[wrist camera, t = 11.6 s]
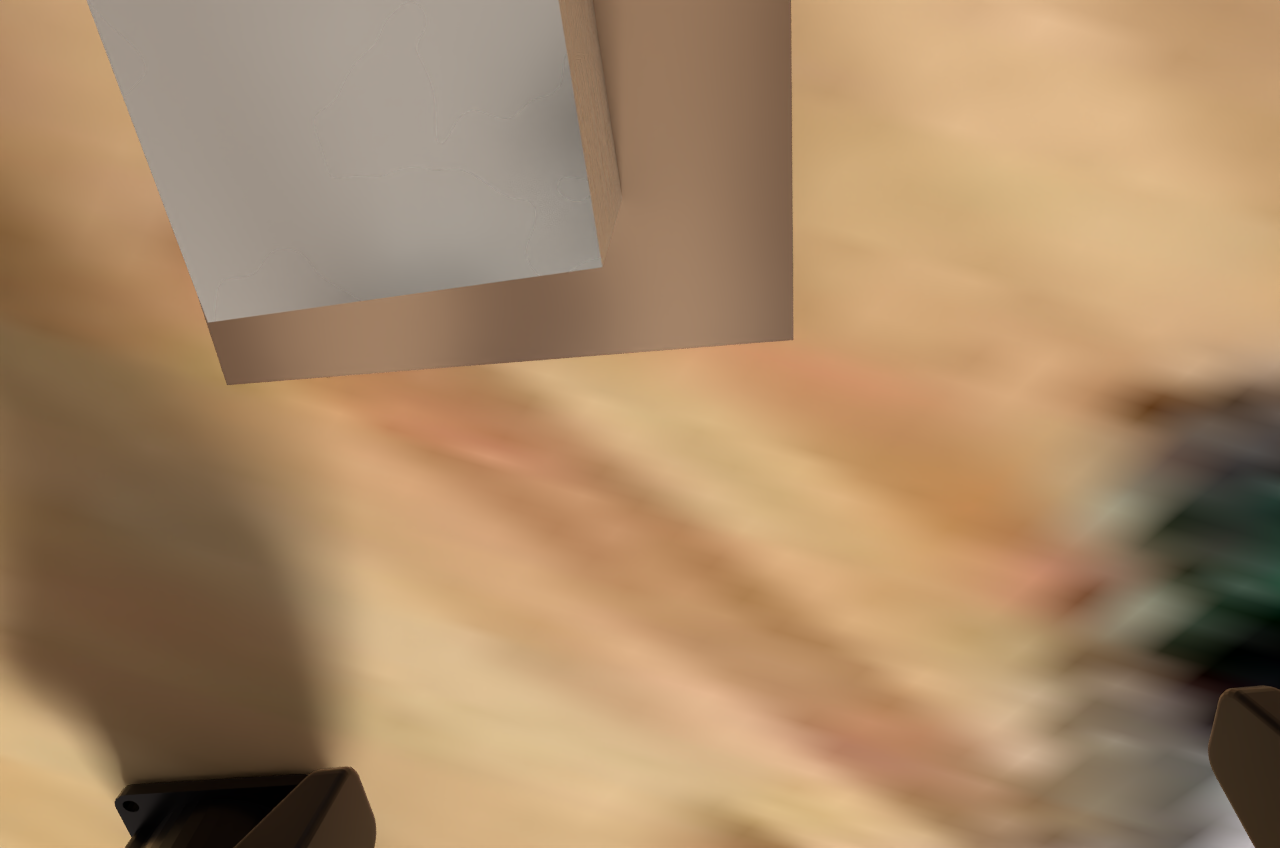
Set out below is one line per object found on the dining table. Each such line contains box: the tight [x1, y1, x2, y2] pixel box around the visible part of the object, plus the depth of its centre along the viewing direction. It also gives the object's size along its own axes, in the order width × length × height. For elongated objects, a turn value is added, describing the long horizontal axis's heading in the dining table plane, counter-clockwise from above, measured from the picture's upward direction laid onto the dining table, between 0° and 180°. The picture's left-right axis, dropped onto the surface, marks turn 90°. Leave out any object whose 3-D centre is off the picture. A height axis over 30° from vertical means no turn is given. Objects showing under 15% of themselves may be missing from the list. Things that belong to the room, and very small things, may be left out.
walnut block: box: [199, 0, 793, 385], centre depth 15 cm, size 12×12×3 cm
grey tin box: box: [87, 0, 622, 323], centre depth 11 cm, size 5×5×6 cm
